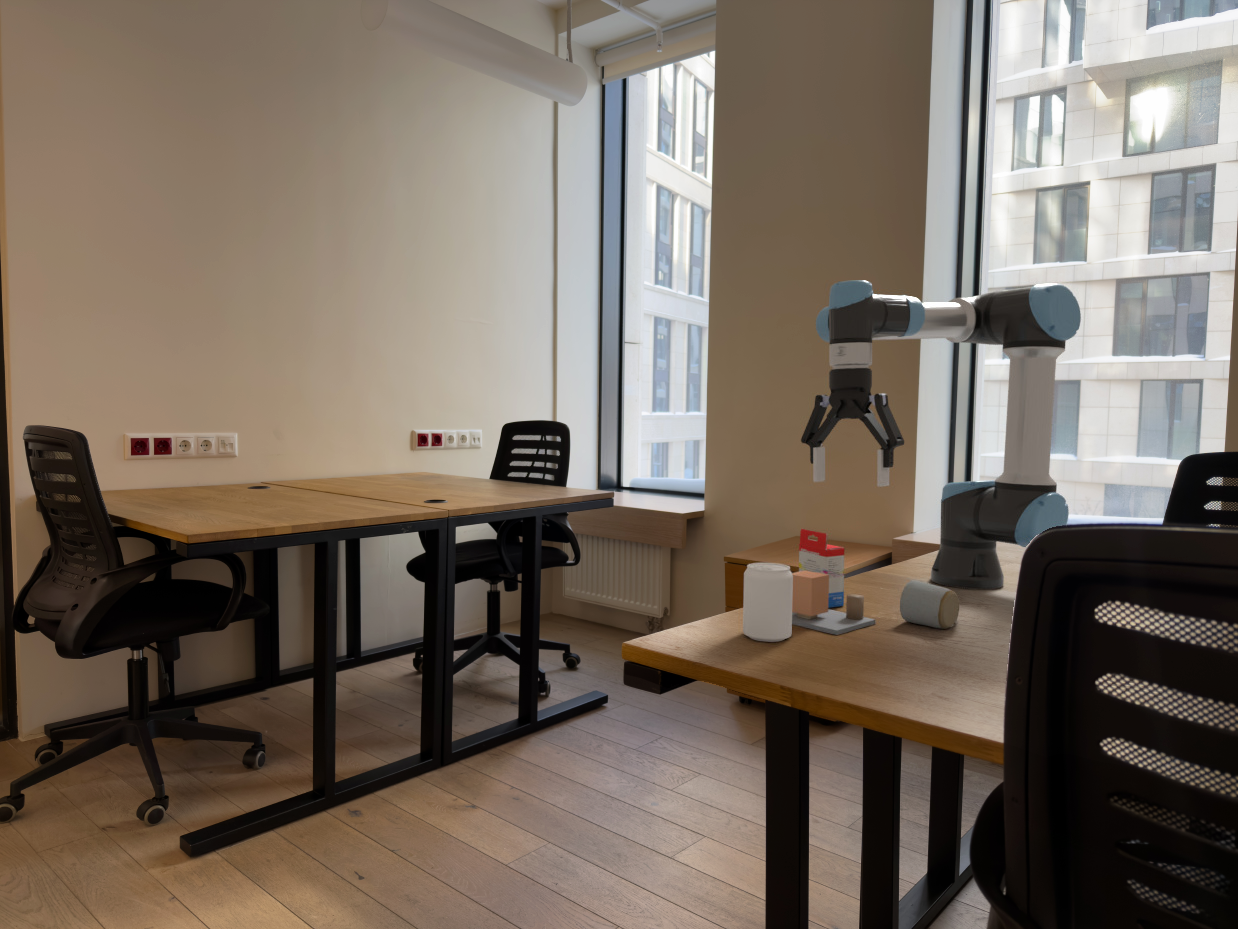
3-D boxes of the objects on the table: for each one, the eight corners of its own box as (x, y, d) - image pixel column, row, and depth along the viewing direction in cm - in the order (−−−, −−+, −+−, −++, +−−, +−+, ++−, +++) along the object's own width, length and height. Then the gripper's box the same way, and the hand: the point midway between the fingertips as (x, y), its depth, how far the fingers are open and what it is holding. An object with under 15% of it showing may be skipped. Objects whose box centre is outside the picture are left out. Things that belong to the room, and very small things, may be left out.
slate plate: (810, 609, 157) (811, 584, 157) (875, 623, 147) (876, 597, 147) (771, 619, 150) (771, 593, 149) (836, 635, 139) (837, 607, 139)
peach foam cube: (804, 606, 152) (805, 570, 152) (828, 611, 148) (829, 574, 148) (787, 610, 149) (788, 573, 148) (811, 616, 145) (811, 578, 144)
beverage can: (785, 645, 132) (786, 572, 132) (736, 639, 136) (738, 568, 135) (796, 633, 140) (797, 564, 139) (750, 628, 143) (751, 560, 142)
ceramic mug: (941, 633, 141) (943, 589, 141) (897, 624, 147) (899, 581, 147) (969, 624, 148) (971, 582, 148) (926, 616, 154) (928, 575, 154)
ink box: (844, 606, 160) (846, 532, 159) (825, 609, 158) (827, 533, 157) (815, 597, 168) (817, 526, 167) (796, 600, 166) (798, 528, 165)
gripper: (782, 370, 156) (782, 481, 157) (902, 364, 137) (901, 489, 138) (806, 370, 160) (806, 478, 162) (925, 364, 142) (924, 486, 143)
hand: (850, 483), depth 150 cm, fingers open, 13 cm apart
